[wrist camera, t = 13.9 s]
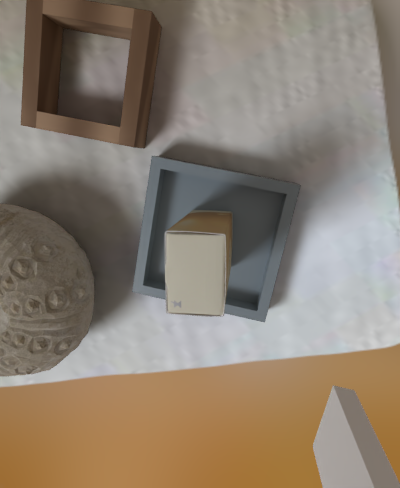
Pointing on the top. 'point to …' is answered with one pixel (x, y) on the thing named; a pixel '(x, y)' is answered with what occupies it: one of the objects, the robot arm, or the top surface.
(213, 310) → the skincare box
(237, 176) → the tray
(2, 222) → the decorative shell
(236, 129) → the top surface
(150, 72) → the socket block
